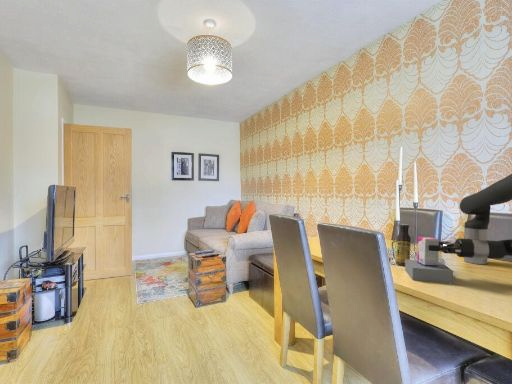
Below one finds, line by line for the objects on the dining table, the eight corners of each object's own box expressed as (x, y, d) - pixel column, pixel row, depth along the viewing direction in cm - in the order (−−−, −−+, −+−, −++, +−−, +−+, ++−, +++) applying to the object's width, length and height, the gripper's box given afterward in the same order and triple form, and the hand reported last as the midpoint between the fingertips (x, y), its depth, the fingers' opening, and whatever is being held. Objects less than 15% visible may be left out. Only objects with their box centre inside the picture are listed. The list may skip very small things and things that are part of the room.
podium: (405, 270, 124) (405, 259, 124) (440, 273, 120) (440, 261, 120) (412, 280, 111) (412, 267, 111) (452, 283, 106) (453, 270, 106)
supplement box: (439, 266, 112) (439, 238, 112) (424, 266, 113) (424, 238, 113) (430, 262, 118) (430, 236, 118) (416, 262, 119) (416, 236, 118)
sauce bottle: (395, 265, 132) (395, 224, 132) (395, 262, 138) (395, 223, 137) (411, 267, 129) (411, 225, 129) (409, 263, 135) (410, 223, 135)
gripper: (464, 236, 117) (421, 234, 122) (479, 242, 104) (430, 239, 109) (463, 253, 117) (421, 250, 122) (479, 262, 104) (430, 258, 109)
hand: (425, 245), depth 115 cm, fingers open, 8 cm apart
